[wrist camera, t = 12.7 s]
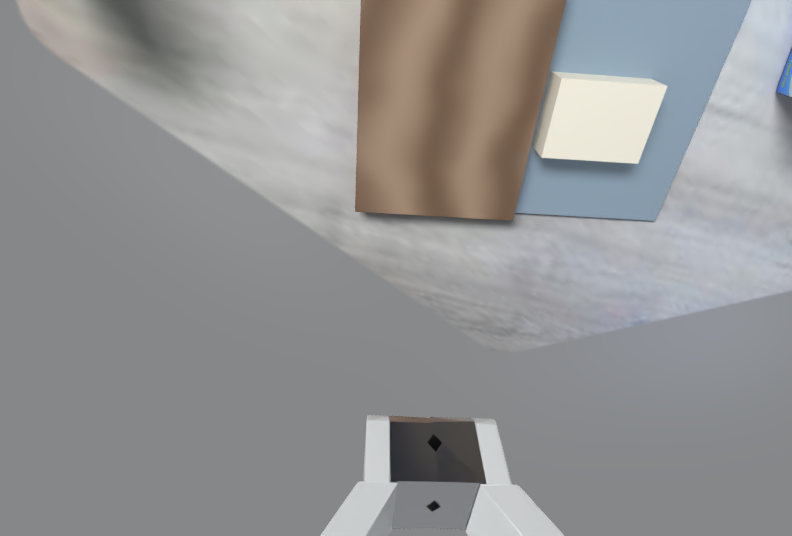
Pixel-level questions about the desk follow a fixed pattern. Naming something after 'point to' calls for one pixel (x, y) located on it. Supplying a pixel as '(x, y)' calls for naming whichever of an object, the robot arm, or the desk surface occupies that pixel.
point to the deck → (450, 103)
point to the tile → (597, 117)
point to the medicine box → (786, 79)
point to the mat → (639, 58)
